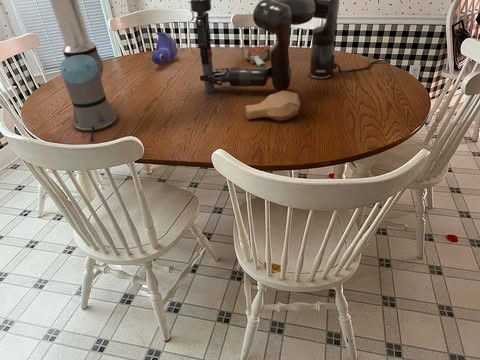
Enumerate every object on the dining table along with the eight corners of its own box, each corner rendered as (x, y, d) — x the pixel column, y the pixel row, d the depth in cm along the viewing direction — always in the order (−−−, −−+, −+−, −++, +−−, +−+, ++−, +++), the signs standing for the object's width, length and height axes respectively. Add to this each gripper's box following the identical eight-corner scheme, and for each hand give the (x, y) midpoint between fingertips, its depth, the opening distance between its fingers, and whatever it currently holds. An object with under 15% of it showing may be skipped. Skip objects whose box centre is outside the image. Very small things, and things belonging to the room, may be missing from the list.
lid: (198, 55, 144) (197, 50, 143) (209, 53, 146) (208, 48, 145) (203, 58, 141) (202, 53, 140) (214, 56, 143) (213, 51, 142)
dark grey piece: (203, 90, 153) (199, 52, 143) (212, 88, 155) (208, 50, 145) (207, 93, 150) (203, 54, 140) (216, 91, 152) (212, 52, 142)
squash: (303, 121, 125) (302, 100, 119) (248, 131, 127) (244, 110, 121) (298, 104, 133) (297, 83, 126) (246, 113, 135) (242, 93, 128)
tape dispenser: (262, 73, 170) (281, 58, 183) (262, 62, 167) (281, 48, 179) (231, 66, 178) (251, 52, 190) (230, 56, 174) (251, 42, 187)
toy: (165, 64, 197) (145, 70, 175) (161, 31, 190) (139, 33, 168) (182, 63, 195) (163, 69, 172) (178, 30, 188) (158, 32, 166)
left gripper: (195, -6, 140) (202, 54, 153) (184, 4, 124) (193, 69, 137) (214, -7, 139) (219, 53, 152) (205, 3, 123) (212, 69, 136)
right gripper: (244, 62, 149) (205, 61, 152) (237, 74, 138) (195, 73, 141) (245, 79, 153) (207, 78, 157) (238, 92, 142) (198, 91, 146)
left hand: (207, 61), depth 145 cm, fingers open, 7 cm apart
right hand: (202, 76), depth 149 cm, fingers closed on dark grey piece, 4 cm apart
